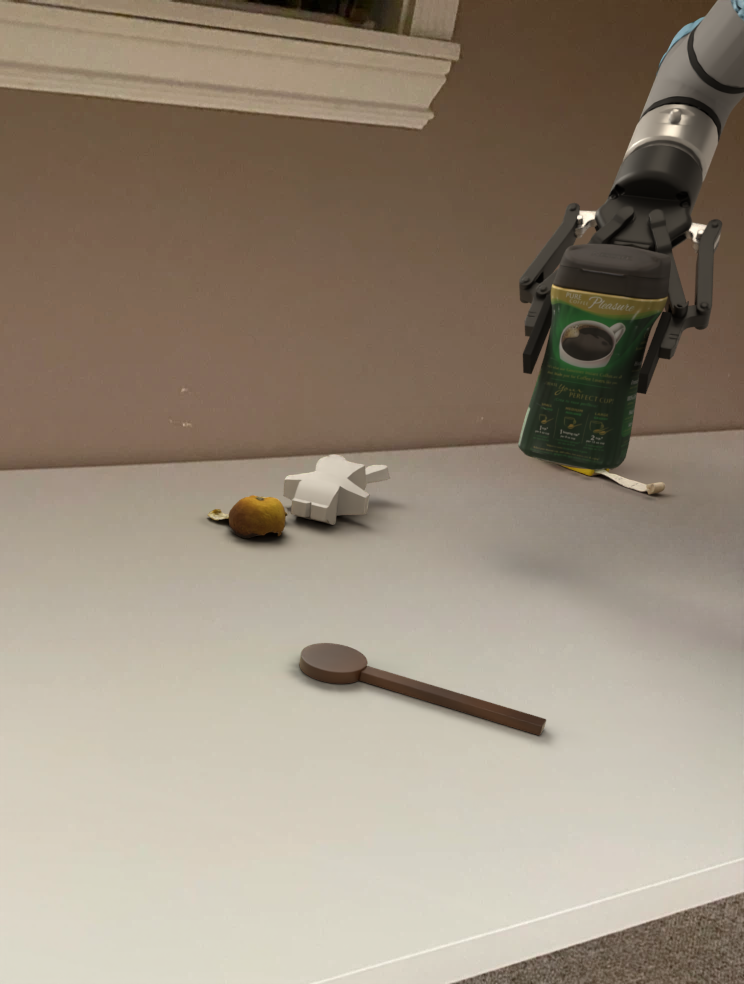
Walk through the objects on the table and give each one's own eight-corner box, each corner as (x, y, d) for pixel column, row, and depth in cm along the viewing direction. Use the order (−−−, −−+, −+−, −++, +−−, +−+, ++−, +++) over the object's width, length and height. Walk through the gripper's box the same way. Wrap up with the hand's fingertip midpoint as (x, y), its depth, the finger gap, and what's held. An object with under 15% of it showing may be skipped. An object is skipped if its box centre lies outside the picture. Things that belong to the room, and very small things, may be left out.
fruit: (279, 514, 118) (283, 481, 116) (304, 542, 111) (308, 507, 109) (204, 514, 115) (207, 480, 114) (224, 542, 109) (228, 507, 107)
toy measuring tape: (551, 450, 151) (562, 402, 148) (673, 493, 138) (688, 440, 134) (520, 455, 148) (531, 405, 145) (641, 498, 134) (657, 445, 131)
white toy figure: (268, 479, 114) (323, 434, 125) (265, 524, 117) (319, 477, 128) (353, 499, 111) (402, 451, 122) (348, 545, 114) (396, 494, 125)
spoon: (550, 718, 82) (553, 706, 81) (533, 747, 77) (536, 734, 77) (315, 648, 89) (316, 636, 88) (288, 671, 85) (289, 659, 84)
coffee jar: (630, 462, 104) (688, 251, 95) (610, 479, 98) (670, 255, 89) (531, 440, 108) (577, 236, 99) (505, 456, 102) (552, 240, 93)
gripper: (542, 129, 102) (459, 326, 98) (799, 152, 94) (722, 368, 89) (543, 191, 109) (465, 378, 104) (782, 218, 101) (709, 422, 96)
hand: (583, 373), depth 97 cm, fingers closed on coffee jar, 9 cm apart
